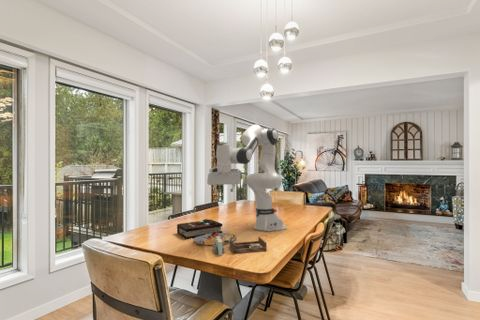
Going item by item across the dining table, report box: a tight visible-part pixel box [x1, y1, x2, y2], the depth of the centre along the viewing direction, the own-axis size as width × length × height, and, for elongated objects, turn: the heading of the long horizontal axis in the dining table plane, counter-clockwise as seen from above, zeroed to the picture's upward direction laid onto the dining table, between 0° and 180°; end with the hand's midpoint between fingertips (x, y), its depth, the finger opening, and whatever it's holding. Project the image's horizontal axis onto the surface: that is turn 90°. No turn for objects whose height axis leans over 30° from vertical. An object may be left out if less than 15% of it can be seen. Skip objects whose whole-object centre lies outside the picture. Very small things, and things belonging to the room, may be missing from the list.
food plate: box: [193, 232, 237, 246], centre depth 163 cm, size 25×23×4 cm
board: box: [215, 236, 223, 256], centre depth 141 cm, size 11×2×7 cm, turn 12°
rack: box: [229, 236, 267, 255], centre depth 145 cm, size 17×12×5 cm
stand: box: [212, 244, 226, 255], centre depth 142 cm, size 7×8×4 cm
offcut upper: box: [250, 244, 261, 248], centre depth 144 cm, size 4×3×1 cm
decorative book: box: [176, 218, 224, 240], centre depth 182 cm, size 19×8×30 cm
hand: (224, 192), depth 166 cm, fingers open, 8 cm apart
